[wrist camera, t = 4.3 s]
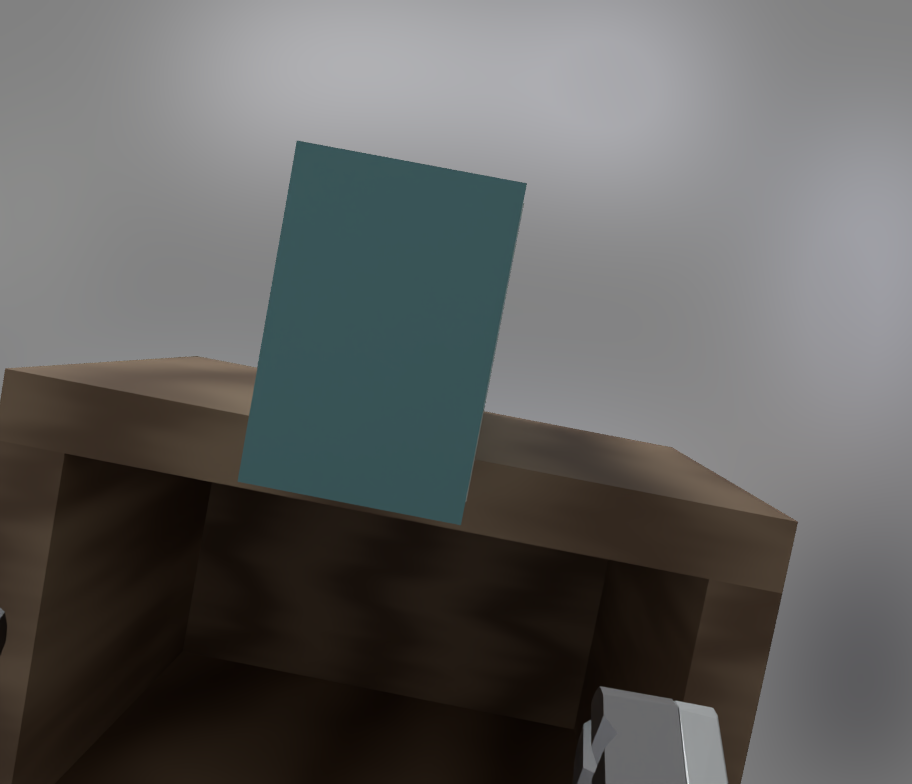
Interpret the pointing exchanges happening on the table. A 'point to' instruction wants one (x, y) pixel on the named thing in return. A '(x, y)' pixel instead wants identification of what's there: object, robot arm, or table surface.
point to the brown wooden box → (350, 596)
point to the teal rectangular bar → (381, 332)
